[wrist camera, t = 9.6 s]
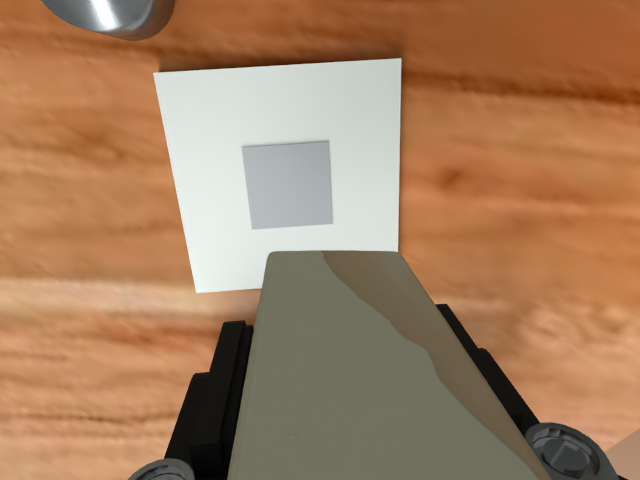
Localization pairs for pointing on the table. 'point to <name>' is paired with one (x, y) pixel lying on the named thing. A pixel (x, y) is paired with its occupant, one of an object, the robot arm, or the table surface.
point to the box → (365, 381)
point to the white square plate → (282, 162)
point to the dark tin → (115, 16)
